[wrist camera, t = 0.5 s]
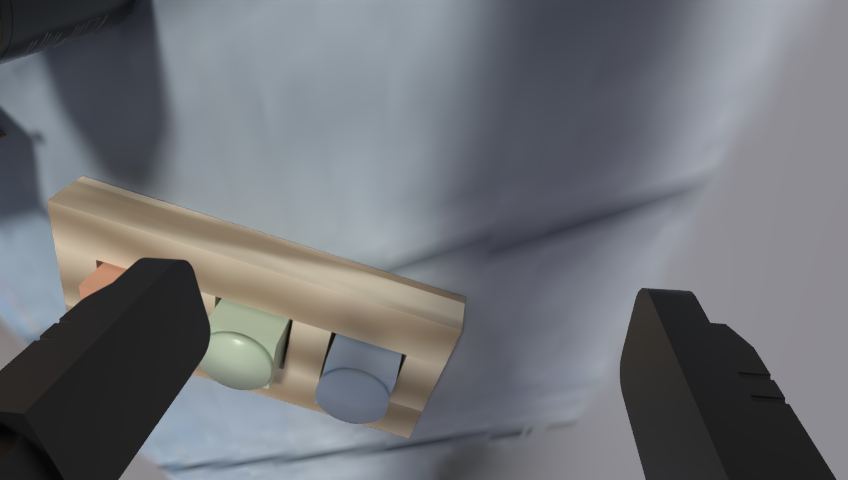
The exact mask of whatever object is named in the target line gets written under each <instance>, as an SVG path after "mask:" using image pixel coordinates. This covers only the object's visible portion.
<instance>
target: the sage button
mask: <svg viewBox="0 0 848 480" xmlns="http://www.w3.org/2000/svg"><path fill="white" fill-rule="evenodd" d="M208 319H209V323H210V329H211V335H210V342H209V346H208V349H207V352H206V354H205V356H204V358H203V359H202V361H201V362H200V363H199V365H200V366H201V368H202V370H203V371H204V372H205V373H206V374H207V375H208V376H210V377H211V378H212V379H214V380H215V381H217V382H218V383H220V384H222V385H225V386H227V387H230V388H234V389H239V390H254V389H258V388H261V387H262V388H266V389H269V387H270V385H271V383H272V381H273V379H274V376H275V374H276V372H277V370H278V368H279V366H280V364H281V362H282V360H283V355H284V350H285V345H286V340H287V335H288V329H289V324H290V319H288V318H284V317H281V316H278V315H274V314H271V313H268V312H265V311H261V310H258V309H255V308H252V307H248V306H245V305H242V304H239V303H235V302H232V301H229V300H226V299H221V300H220V302H219V303H218V304H217V306H216V307H215V309H214V310H213V312H212V313H211V315H210V316H209V317H208Z"/></svg>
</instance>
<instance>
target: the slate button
mask: <svg viewBox="0 0 848 480" xmlns="http://www.w3.org/2000/svg"><path fill="white" fill-rule="evenodd" d="M401 357H402V354H401V353H398V352H395V351H392V350H388V349H385V348H382V347H379V346H375V345H372V344H369V343H366V342H362V341H359V340H356V339H353V338H349V337H346V336H343V335H340V334H336V336H335V338H334V341H333V344H332V346H331V349H330V352H329V354H328V357H327V360H326V363H325V366H324V370H323V374H322V377H321V378H320V380H319V382H318V385H317V388H316V391H315V397H316V399H315V403H316V404H319V405H320V407H321V408H322V409H323V410H324V411H325V412H327V413H328V414H329V415H331V416H333V417H335V418H337V419H339V420H342V421H345V422H349V423H355V424H366V423H371V422H375V421H377V422H379V421H380V419H381V418H382V417H383V416H384V415H385V414H386V412H387V409H388V405H389V401H390V395H391V392H392V390H393V388H394V385H395V383H396V379H397V375H398V370H399V366H400V361H401Z"/></svg>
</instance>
